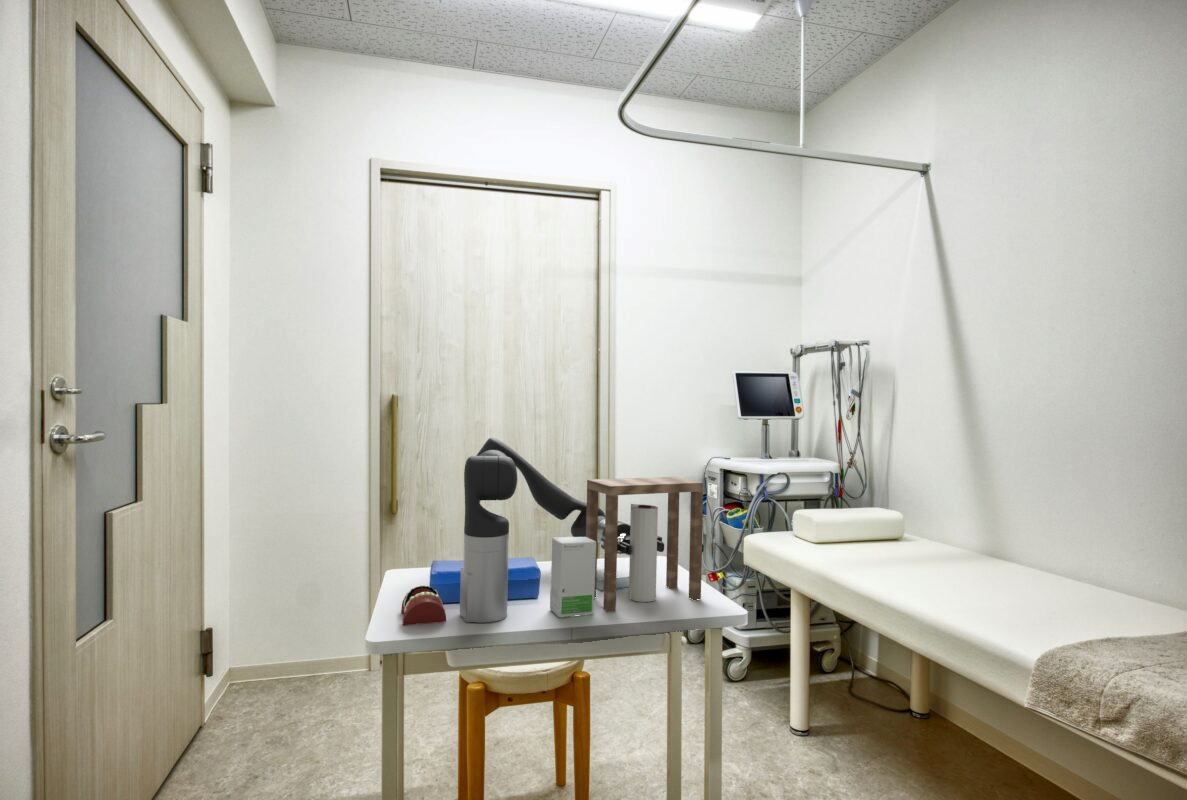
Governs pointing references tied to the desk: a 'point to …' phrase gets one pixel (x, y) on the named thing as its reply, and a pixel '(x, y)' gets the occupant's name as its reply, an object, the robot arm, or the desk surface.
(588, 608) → the skincare box
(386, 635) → the desk surface
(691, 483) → the walnut shelf
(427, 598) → the teeth
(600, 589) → the slate mat
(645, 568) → the paper towel roll
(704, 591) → the desk surface
